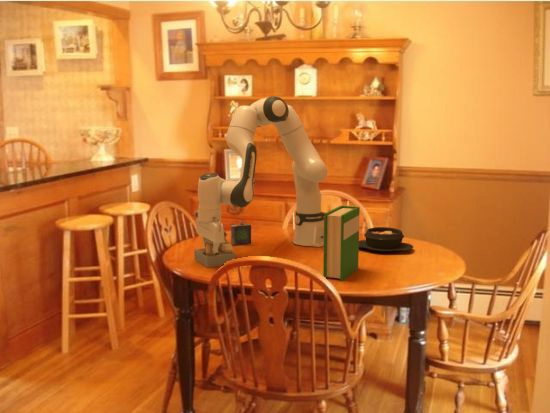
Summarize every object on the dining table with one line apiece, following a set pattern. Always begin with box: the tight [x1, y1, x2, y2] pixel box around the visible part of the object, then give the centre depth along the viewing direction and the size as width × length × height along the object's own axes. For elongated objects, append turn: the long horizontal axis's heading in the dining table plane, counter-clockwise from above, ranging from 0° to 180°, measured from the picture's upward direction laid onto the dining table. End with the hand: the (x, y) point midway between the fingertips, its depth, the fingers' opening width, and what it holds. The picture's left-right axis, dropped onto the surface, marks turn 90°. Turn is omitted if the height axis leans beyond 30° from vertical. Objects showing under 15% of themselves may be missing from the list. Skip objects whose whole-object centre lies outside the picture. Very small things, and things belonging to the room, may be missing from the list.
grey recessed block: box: [193, 247, 236, 269], centre depth 231 cm, size 12×14×4 cm
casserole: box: [359, 226, 414, 254], centre depth 248 cm, size 25×19×8 cm
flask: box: [230, 220, 252, 247], centre depth 258 cm, size 9×3×11 cm, turn 109°
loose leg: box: [205, 243, 216, 256], centre depth 228 cm, size 4×4×8 cm
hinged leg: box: [218, 241, 234, 253], centre depth 233 cm, size 11×3×3 cm, turn 26°
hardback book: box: [322, 205, 361, 282], centre depth 213 cm, size 18×7×24 cm, turn 154°
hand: (210, 249), depth 228 cm, fingers open, 8 cm apart
